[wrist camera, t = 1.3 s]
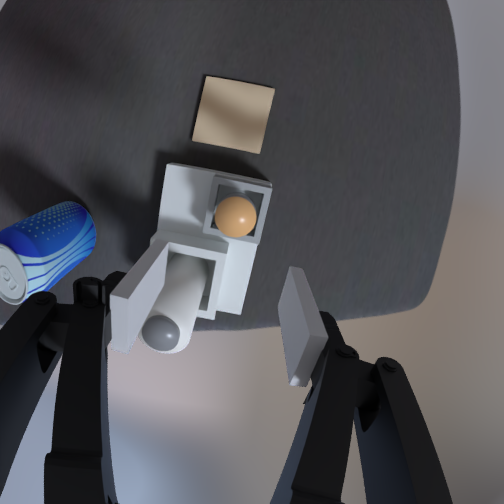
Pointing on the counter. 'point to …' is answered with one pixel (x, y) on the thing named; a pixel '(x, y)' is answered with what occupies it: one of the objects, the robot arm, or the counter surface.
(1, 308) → the counter surface
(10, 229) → the beer can
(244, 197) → the tan dome
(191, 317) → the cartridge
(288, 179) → the counter surface
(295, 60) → the counter surface
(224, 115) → the coaster
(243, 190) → the housing
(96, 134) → the counter surface
